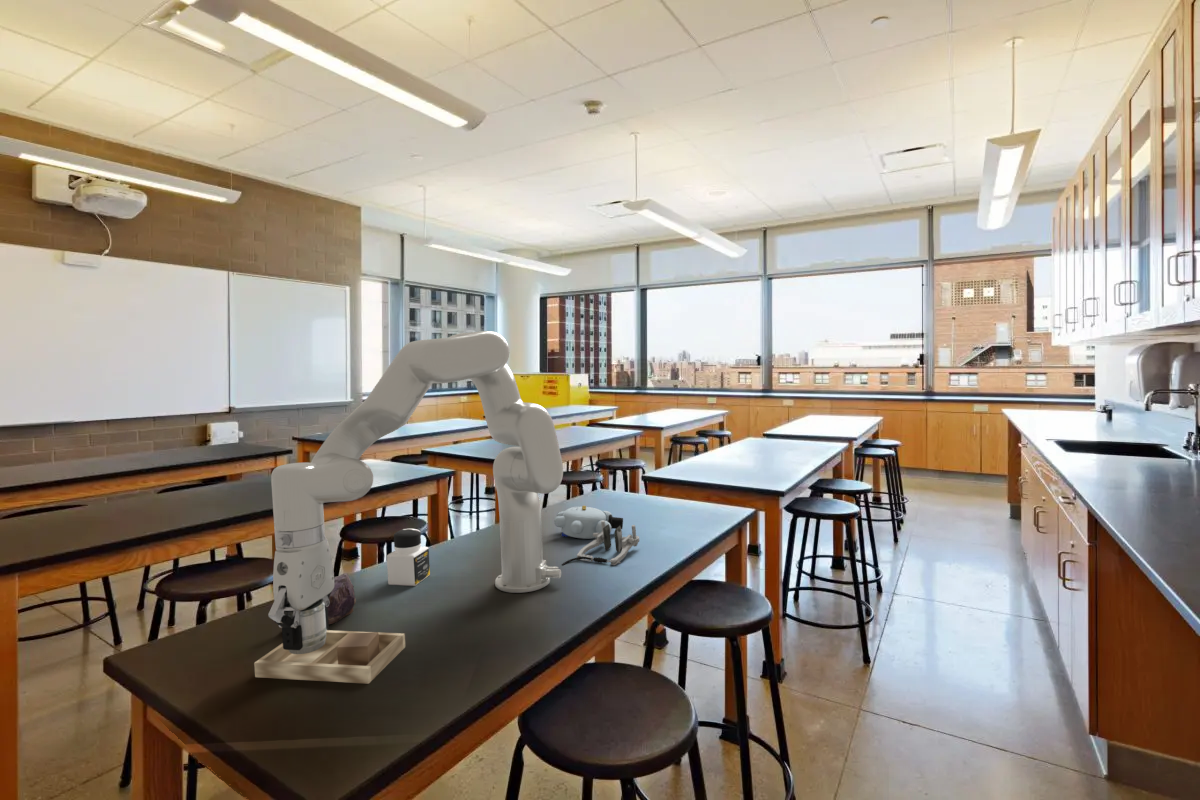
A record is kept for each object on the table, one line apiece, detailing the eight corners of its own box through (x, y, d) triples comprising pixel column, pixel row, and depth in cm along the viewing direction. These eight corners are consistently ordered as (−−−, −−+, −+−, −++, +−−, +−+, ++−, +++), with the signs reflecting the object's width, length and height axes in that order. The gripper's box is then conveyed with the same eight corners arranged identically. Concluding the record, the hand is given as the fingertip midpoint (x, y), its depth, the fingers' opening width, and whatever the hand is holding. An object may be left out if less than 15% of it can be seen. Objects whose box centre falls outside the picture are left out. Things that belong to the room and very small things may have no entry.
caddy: (405, 650, 103) (404, 633, 103) (368, 688, 92) (367, 668, 91) (303, 646, 106) (302, 629, 106) (255, 681, 95) (254, 662, 94)
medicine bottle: (415, 586, 134) (413, 535, 133) (387, 585, 136) (384, 534, 135) (430, 575, 141) (428, 526, 140) (403, 574, 143) (401, 526, 142)
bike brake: (600, 539, 163) (562, 573, 146) (598, 517, 162) (559, 548, 145) (644, 546, 156) (610, 583, 139) (642, 523, 155) (607, 557, 138)
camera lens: (312, 634, 104) (310, 592, 103) (334, 642, 101) (332, 598, 100) (278, 650, 98) (275, 605, 98) (300, 658, 95) (297, 612, 95)
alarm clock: (550, 542, 164) (621, 548, 163) (552, 512, 163) (623, 518, 162) (558, 525, 181) (622, 530, 180) (560, 498, 180) (624, 503, 179)
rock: (294, 631, 116) (320, 643, 110) (284, 592, 114) (309, 602, 108) (348, 602, 125) (374, 611, 119) (339, 565, 123) (365, 573, 117)
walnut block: (379, 654, 101) (378, 632, 101) (368, 669, 96) (367, 646, 96) (350, 655, 101) (349, 633, 100) (338, 670, 96) (336, 647, 95)
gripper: (285, 553, 89) (292, 666, 90) (350, 522, 106) (355, 618, 107) (241, 552, 90) (249, 663, 92) (312, 522, 108) (318, 616, 109)
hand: (306, 638), depth 99 cm, fingers closed on camera lens, 6 cm apart
